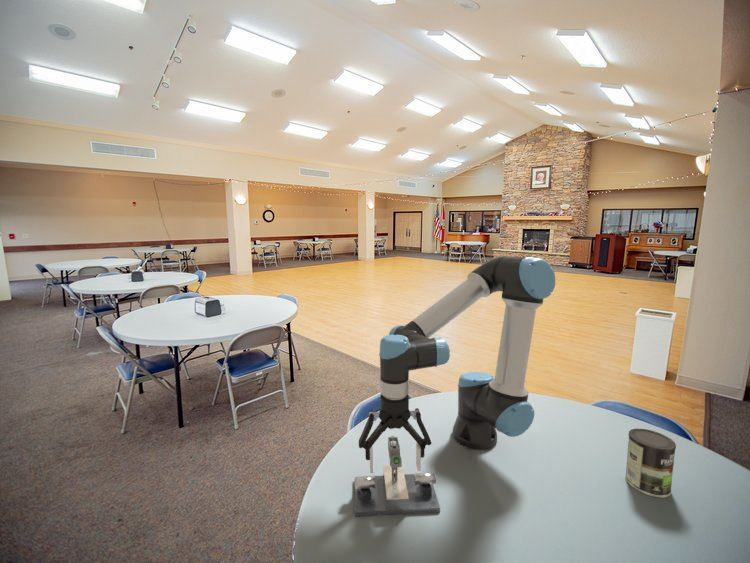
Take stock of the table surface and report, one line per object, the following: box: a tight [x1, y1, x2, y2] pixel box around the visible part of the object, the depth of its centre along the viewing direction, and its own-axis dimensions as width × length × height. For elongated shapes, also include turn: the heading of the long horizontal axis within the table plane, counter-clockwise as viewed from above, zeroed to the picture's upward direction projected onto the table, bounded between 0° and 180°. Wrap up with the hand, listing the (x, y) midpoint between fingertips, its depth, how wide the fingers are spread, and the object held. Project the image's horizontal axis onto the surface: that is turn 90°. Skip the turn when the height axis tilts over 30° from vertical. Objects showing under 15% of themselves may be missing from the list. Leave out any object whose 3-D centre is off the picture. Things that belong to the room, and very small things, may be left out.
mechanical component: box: [387, 435, 403, 481], centre depth 93 cm, size 3×10×10 cm, turn 4°
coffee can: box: [624, 428, 677, 499], centre depth 96 cm, size 10×10×14 cm
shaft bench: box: [354, 464, 441, 517], centre depth 94 cm, size 22×13×6 cm, turn 93°
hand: (394, 468), depth 93 cm, fingers open, 12 cm apart
